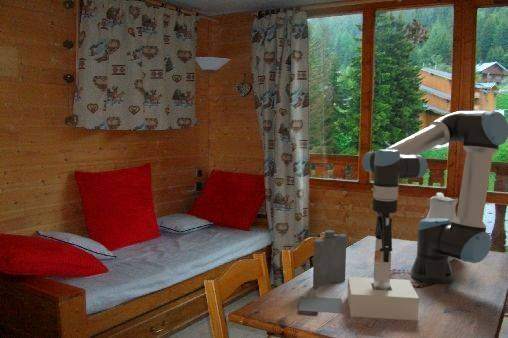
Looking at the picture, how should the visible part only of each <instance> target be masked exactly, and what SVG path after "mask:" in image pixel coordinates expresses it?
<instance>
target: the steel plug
mask: <svg viewBox="0 0 508 338" xmlns="http://www.w3.org/2000/svg"><path fill="white" fill-rule="evenodd" d="M391 261H392V254H391V255H390V268H391V264H392V262H391ZM373 262H374V264H373V278H374V285H373V290H387V291H389V290H390V279H391V271H390V272H380V264H381V251H375V250H374V261H373Z"/></svg>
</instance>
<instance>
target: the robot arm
mask: <svg viewBox="0 0 508 338" xmlns="http://www.w3.org/2000/svg"><path fill="white" fill-rule="evenodd" d="M507 140H508V121H507V119H506V116H505V115H503V113H501V112H499V111H494V110H492V111H491V110H459V111H455V112H452V113H449V114H446V115H444V116H441V117H439V118H436V119H435V120H434V121H431V122H430V123H429V124H428V127H425V128H423V129H421V130H419V131H417V132H415V133H413V134H411V135H409V136H407V137H406V138H403V139H402V140H399V141H397V142H396V143H393V144H391V145H390V146H388V147H386V148H384V149H382V148H381V149H377V150H375V151H368V152H366V153H365V154H364V155H363V157H362V159H361V160H362V161H361V164H362V167H363V169H364V171H365V172H367V173H370V174H373V187H372V188H371V191H372V197H373V199H372V207H371V208H372V211H374V212H375V213H377V216H376V224H375V230H374V231H375V232H374V235H375V238H376V239H375V245H374V246H375V247H374V252H375V251H381V264H380V272H390V273H391V267H390V255H391V256H392V252H393V238H392V237H393V236H392V234H393V233H392V232H393V231H392V221H393V219H392V218H391V216H390V214H395V213H396V212H397V211H398V198H399V187H400V186H399V180H406V179H407V180H408V179H414V180H416V179H418V178H419V179H420V178H422V177H424V176H425V175H426V174H427V172H428V161H427V160H426V158H425V157H424V156H422V155H421V154H423V153H425V152H427V151H429V150H430V149H433V148H435V147H436V146H437V147H438V146H444V145H446V144H448V143H463V144H462V148H463V149H464V150H465V152H466V154H465V160H464V167H463V174H462V178H461V186H460V193H459V198H458V205H457V206H458V207H457V211H456V218H455V219H453V220H452V221H451V220H450V219H447V218H427V219H426V218H423V219H421V220H419V221H418V228H417V240H416V241H417V243H416V245H417V246H416V257H415V260H414V262H413V264H412V266H411V270H410V272H411V273H410V276H411V277H412V278H413V279H415V280H417V281H420V282H424V283H430V284H447V283H451V282H452V281H453V277H454V273H453V270H452V267H451V263H450V262H451V261H449V256H450V257H453V258H454V259H457V260H460V261H462V262H466V263H471V264H478V263H480V262H482V261H484V259H485V258H487V256H488V255H489V253H490V250H491V247H492V237H491V235H490V234H489V233H488V232H487V225H486V224H485V223H484V222H483V221H484V213H485V207H486V201H487V193H488V187H489V180H490V174H491V168H492V162H493V155H495V154H496V153H497V152H498V151H499V147H500V146H502V145H504V144H505V143H506V141H507Z"/></svg>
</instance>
